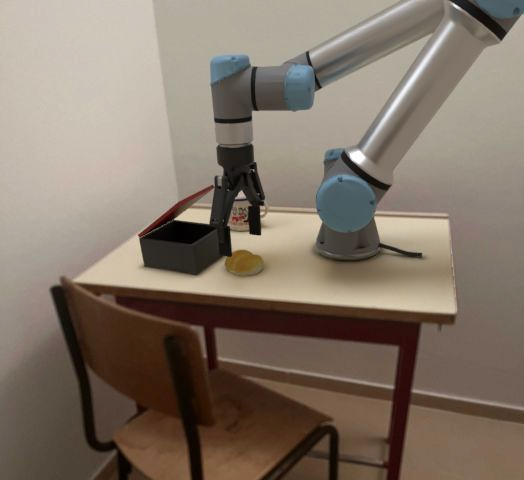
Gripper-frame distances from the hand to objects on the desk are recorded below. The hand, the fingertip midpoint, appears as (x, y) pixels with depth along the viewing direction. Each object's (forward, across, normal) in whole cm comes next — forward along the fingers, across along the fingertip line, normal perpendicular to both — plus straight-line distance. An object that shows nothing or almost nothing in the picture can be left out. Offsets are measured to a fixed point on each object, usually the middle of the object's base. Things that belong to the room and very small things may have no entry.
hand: (241, 244), depth 115 cm
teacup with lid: (+6, -26, -13) cm, 30 cm away
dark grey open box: (+6, 0, -16) cm, 17 cm away
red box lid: (-5, 0, -16) cm, 17 cm away
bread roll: (+6, 0, 0) cm, 6 cm away
